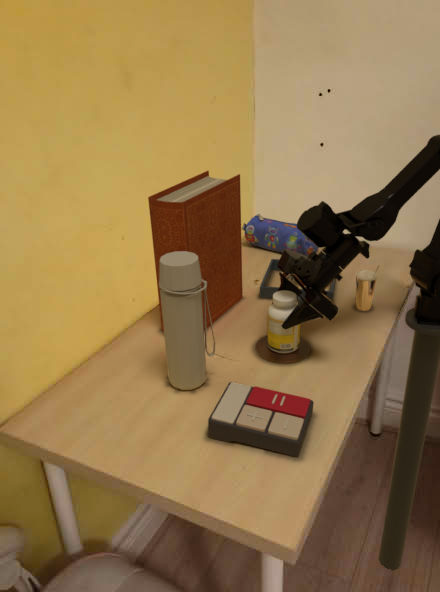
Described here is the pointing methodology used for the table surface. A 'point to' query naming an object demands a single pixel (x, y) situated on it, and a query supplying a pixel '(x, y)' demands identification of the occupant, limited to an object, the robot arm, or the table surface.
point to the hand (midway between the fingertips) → (276, 319)
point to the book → (202, 235)
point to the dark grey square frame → (269, 291)
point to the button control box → (261, 418)
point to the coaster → (282, 358)
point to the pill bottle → (277, 314)
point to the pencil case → (277, 236)
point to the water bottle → (184, 319)
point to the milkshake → (365, 288)
